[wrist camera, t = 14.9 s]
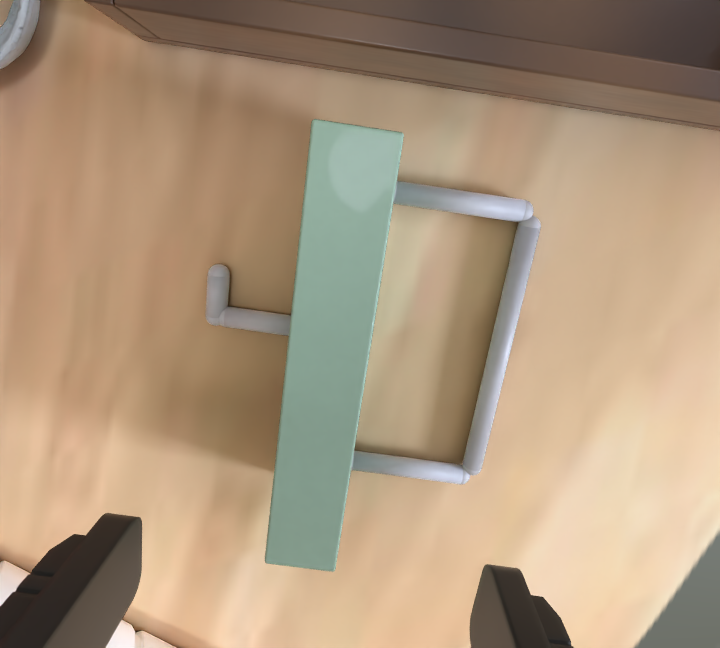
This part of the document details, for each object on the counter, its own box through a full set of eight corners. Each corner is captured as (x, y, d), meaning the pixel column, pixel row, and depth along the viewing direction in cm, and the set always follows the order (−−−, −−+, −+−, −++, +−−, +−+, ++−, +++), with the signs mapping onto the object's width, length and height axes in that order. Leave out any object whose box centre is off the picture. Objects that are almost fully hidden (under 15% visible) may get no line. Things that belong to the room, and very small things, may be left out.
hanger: (549, 171, 17) (621, 165, 12) (469, 500, 21) (500, 593, 16) (220, 121, 17) (161, 95, 12) (200, 465, 21) (150, 550, 16)
